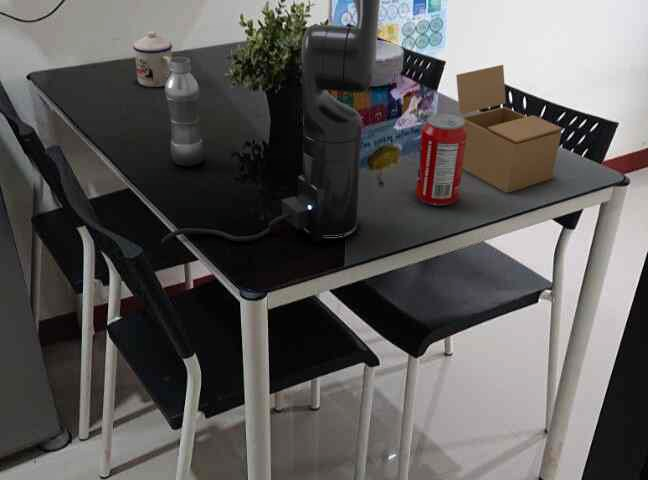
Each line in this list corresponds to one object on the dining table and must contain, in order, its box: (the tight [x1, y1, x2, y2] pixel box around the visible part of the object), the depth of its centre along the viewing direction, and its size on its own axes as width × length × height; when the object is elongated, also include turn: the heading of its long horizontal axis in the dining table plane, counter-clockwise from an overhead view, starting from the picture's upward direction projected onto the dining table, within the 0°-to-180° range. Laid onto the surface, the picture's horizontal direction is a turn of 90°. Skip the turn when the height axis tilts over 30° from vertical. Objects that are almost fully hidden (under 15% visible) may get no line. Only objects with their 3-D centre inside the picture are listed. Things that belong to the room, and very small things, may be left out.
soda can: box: [415, 113, 467, 207], centre depth 138 cm, size 8×8×15 cm
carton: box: [461, 106, 563, 194], centre depth 150 cm, size 15×12×10 cm
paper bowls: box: [370, 39, 405, 88], centre depth 192 cm, size 15×15×8 cm
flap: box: [455, 64, 507, 115], centre depth 151 cm, size 7×12×1 cm
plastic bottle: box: [164, 56, 205, 167], centre depth 147 cm, size 6×7×20 cm
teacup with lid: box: [132, 31, 173, 88], centre depth 185 cm, size 12×9×12 cm
